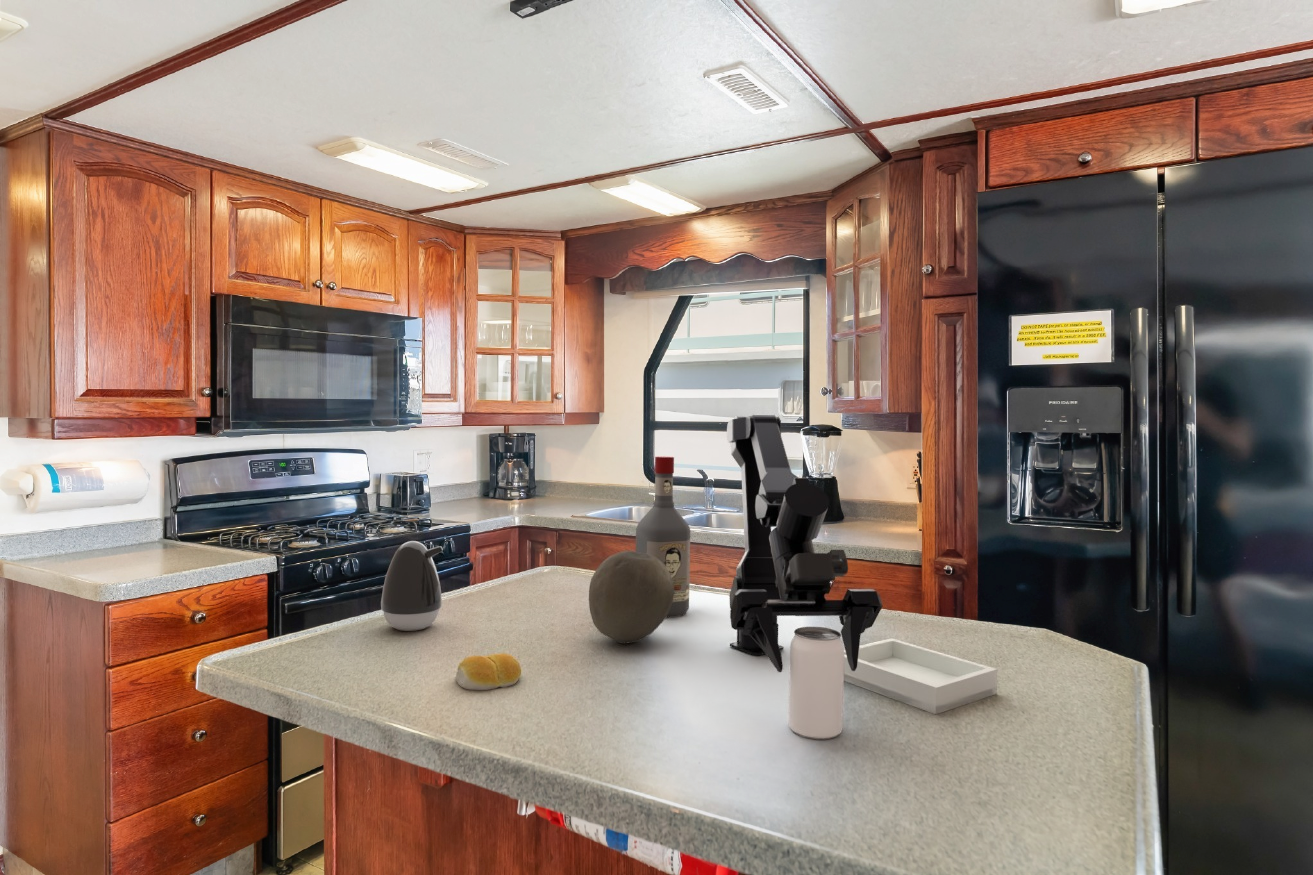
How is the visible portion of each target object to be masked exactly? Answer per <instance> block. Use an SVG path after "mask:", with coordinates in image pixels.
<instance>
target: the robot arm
mask: <svg viewBox="0 0 1313 875" xmlns="http://www.w3.org/2000/svg"><path fill="white" fill-rule="evenodd" d="M726 440H727V443H729V444H730V454H731V456H732V458H733V459H734V461H735V462H736V463H737V465H738V466H739V467H740V473H741V492H742V493H741V494H742V496H741V498H742V513H743V514H742V515H743V516H742V517H743V519H742V520H743V535H744V536H743V538H744V554H743V556H742V558H741V560H740V561H739V563H738V565H737V567H736V571H735V574H736V576H733V577H734V578H733V580H732V585H731V588H730V593H729V609H730V611H729V619H730V624H731V625H730V626H731V628H732V629H733V630H735V631H736V641H732V642H730V643H729V647H732V648H734V649H736V650H738V651H742V652H745V653H748V654H750V655H751V656H752V655H753V656H760V655H764V654H765V655H766V656H767V658H768V659H769V661H770V662H771V664H772V665H773V667H774V668H775V669H776V671H777V672H778V673H782V671H783V670H784V668H783V667H784V664H783V659H782V653H781V651H783V650H784V646H783V645H780V644H779V623H778V617H779V616H781V617H782V616H783V617H786V616H787V617H789V616H790V617H794V616H795V617H838V619H839V622H840V624H841V625H842V628H841V630H840V633H841V638H842V639H841V640H842V643H843V646H844V649H845V651H846V655H847V659H848V663H849V665H850V668H851V670H852V671H855V670H856V668H857V663H858V653H859V646H860V643H861V642H860V640H861V635H862V634H863V633H865V631H866V630H867V629H869V628H871V627H873V625H874V623H875V621H876V620H877V618H878V616H879V614H880V612H881V610H882V608H883V601H882V599H881V595H880V594H879V592H877V591H876V589H873V588H847V590H846V592H845V594H844V596H843V598H842V599H826V595H827V594H828V595H829V594H830V592H831V589H832V587H831V582H832V581H835V580H836V578H843V577H844V576H845V575H846V574H848V573H849V572H848V571H849V565H848V559H847V555H846V553H845V549H830V550H829V552H825V553H824V552H820V553H819V552H815V548H814V544H813V540H815V539H817V538H818V537H819V533H820V531H821V528H822V525H823V523H824V520H825V517H826V514H827V512H828V509H829V505H830V499H829V496H828V495H827V494H826V493H825V492H824V490H823V489H821V488H820V487H819V486H817V485H814V484H812V483H811V482H810V478H809V477H799V476H797V475H796V474H794V473H793V472H792V469H791V467H790V463H789V459H788V456H787V451H786V448H785V445H784V441H783V437H782V420H781V418H780V416H777V415H775V414H764V413H763V414H757V413H756V414H755V413H752V414H751V415H735V416H734V418H733V419H731V420H729V421H728V423H727V425H726ZM772 527H773V529H772Z"/></svg>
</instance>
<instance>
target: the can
mask: <svg viewBox="0 0 1313 875" xmlns="http://www.w3.org/2000/svg"><path fill="white" fill-rule="evenodd" d="M841 638H842V635H841V631H840V632H839V631H838V630H835V629H832V628H829V627H824V626H822V627H821V626H802V627H797V628H796V629H795V630H794V636H793V638H792V640H791V642H790V650H789V651H790V652H789V680H788V682H789V683H788V684H789V687H788V688H789V689H788V690H789V691H788V693H789V694H788V727H789V728H790V730H791V732H793V733H794V734H795V735H798V736H799V737H802V738H806V739H812V740H831V739H834V738H837V737H838V736H839V735H840V734H841V733H842V732H843V719H844V718H843V717H844V716H843V715H844V682H845V681H844V649H845V647H844V643H843V640H842V639H841Z"/></svg>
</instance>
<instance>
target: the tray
mask: <svg viewBox="0 0 1313 875" xmlns="http://www.w3.org/2000/svg"><path fill="white" fill-rule="evenodd" d="M844 682H845V683H849V684H852V685H854V686H857V687H860V688H863V689H865V690H868V691H871V692H873V693H876V694H878V695H881V696H885V697H887V698H889V699H893V700H894V701H898V702H900V703H904V704H905V705H908V706H911V707H914V708H917V709H920V710H922V711H926V712H928V713H930V714H933V715H937V714H940V713H944V712H947V711H949V710H953V709H955V708H958V707H962V706H965V705H967V704H970V703H974V702H977V701H980V700H984V699H986V698H988V697H989V698H990V697H992V696H994V695H997V691H998V690H997V689H998V685H997V684H998V668H994V667H992V666H988V665H986V664H981V663H979V662H974V661H971V660H967V659H964V658H961V657H957V656H954V655H950V654H946V653H943V652H940V651H936V650H933V649H929V648H926V647H923V646H919V645H915V644H912V643H909V642H906V641H903V640H899V639H896V638H887V639H882V640H878V641H874V642H870V643H865V644H861V645H860V644H859V653H858V663H857V668H856V670H855V671H852V670H851V668H850V665H849V663H848V659H847V655H846V651H845V648H844Z"/></svg>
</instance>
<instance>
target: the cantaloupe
mask: <svg viewBox="0 0 1313 875" xmlns="http://www.w3.org/2000/svg"><path fill="white" fill-rule="evenodd" d="M673 598H674V583H673V579H672V577H671V574H670V573H669V571H668V569H667V568H666V567H665V565H664V564H663V563H662V562H661V561H660V560H658V559H657V558H656V557H654V556H652V555H650V554H647V553H641V552H636V550H624V551H620V552H617V553H615V554H612V555H610V556H608V557H607V558H605V559H604V560H603V561H602V562H601V563H600V564H599V566H598V567H597V568H596V569H595V571H594V573H593V575H592V577H591V579H590V583H589V589H588V608H589V612H590V616H591V619H592V624H593V625H594V627H595V628H596V629H597V631H599V633H601V635H603V636H605V637H607V638H608V639H611V640H613V641H615V642H616V643H619V644H629V643H635V642H638V641H641V640H644V639H645V638H646V637H648V636H649V635H651V634H652V633H654V631H656V630H657V629H658V627H659V626H661V624H662V623H663V622H664V621H665V619H666V618H667V617H666V616H667V615H668V613H669V610H670V608H671V605H672V602H673Z"/></svg>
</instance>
